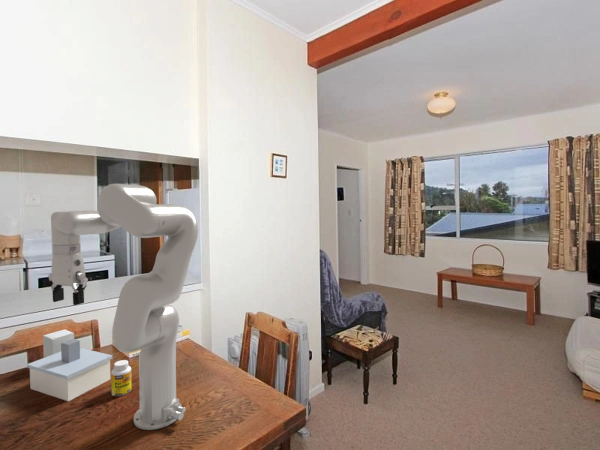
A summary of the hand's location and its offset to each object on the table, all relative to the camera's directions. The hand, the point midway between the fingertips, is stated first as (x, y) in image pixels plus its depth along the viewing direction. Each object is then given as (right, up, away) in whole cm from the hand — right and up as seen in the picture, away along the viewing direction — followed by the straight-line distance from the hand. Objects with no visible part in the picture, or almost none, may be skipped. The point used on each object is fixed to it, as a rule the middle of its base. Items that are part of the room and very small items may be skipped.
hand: (68, 302), depth 108 cm
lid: (0, -20, +1) cm, 20 cm away
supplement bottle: (+19, -29, -3) cm, 34 cm away
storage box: (0, -28, +1) cm, 28 cm away
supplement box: (-13, -27, +14) cm, 34 cm away
